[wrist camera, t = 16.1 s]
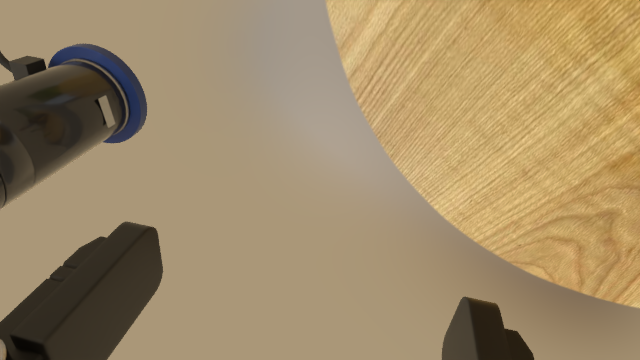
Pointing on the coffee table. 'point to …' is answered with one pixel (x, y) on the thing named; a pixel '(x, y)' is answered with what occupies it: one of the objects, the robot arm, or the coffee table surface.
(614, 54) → the coffee table surface
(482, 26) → the coffee table surface
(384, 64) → the coffee table surface
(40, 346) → the robot arm
